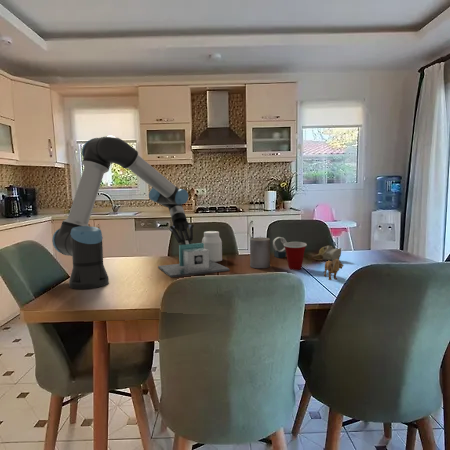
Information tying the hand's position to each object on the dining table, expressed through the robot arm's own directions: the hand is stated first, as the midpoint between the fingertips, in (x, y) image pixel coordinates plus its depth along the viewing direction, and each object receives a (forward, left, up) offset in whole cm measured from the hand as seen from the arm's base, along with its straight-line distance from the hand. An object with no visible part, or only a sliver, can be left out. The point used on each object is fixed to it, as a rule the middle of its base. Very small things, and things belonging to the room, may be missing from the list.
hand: (189, 252), depth 180 cm
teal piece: (0, -10, -5) cm, 11 cm away
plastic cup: (+43, -28, -7) cm, 52 cm away
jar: (+17, +11, -7) cm, 21 cm away
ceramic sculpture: (+69, -20, -7) cm, 72 cm away
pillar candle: (+31, -16, -7) cm, 35 cm away
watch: (+53, 0, -7) cm, 53 cm away
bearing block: (0, -6, -7) cm, 9 cm away
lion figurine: (+46, -50, -7) cm, 68 cm away
